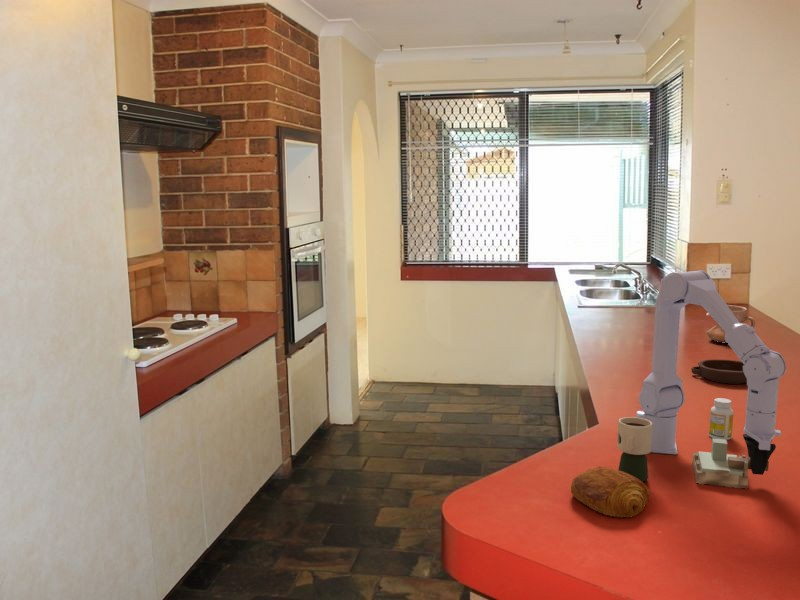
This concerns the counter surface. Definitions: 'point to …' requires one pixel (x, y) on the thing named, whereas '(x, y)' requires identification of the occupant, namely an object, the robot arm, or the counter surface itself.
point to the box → (720, 475)
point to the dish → (721, 371)
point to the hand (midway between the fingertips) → (756, 471)
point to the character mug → (634, 445)
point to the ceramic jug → (717, 331)
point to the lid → (717, 458)
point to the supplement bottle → (721, 419)
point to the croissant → (610, 491)
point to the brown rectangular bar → (741, 462)
